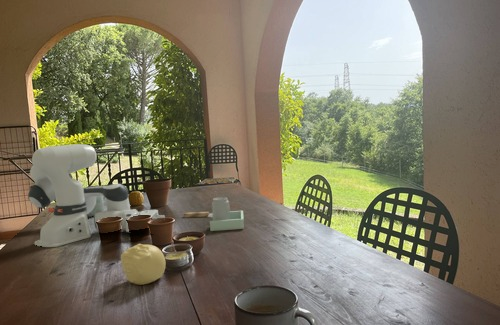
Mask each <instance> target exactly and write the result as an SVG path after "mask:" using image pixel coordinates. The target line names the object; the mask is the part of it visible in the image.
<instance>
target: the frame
mask: <svg viewBox="0 0 500 325" xmlns="http://www.w3.org/2000/svg"><path fill="white" fill-rule="evenodd" d="M211 213H212V219H213V212H211ZM244 222H245V220H244V210H232V211H231V210H230V220H216V221H213V220H209V229H210V232H213V231H229V230H230V231H231V230H243V229H245V223H244Z"/></svg>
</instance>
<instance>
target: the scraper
mask: <svg viewBox="0 0 500 325" xmlns="http://www.w3.org/2000/svg"><path fill="white" fill-rule="evenodd" d="M212 213H213V212H211V213H210V211H198V212H197V211H195V212H194V211H193V212H184V213H183V218H202V217H203V218H206V217H207V218H208V219H211V218H212ZM212 219H213V218H212Z"/></svg>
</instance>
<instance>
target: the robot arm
mask: <svg viewBox="0 0 500 325" xmlns="http://www.w3.org/2000/svg"><path fill="white" fill-rule="evenodd" d="M97 157H98V156H97V152H96V150H95V148H94V147H93V146H92V145H89V144H83V143H82V144H81V143H77V144H75V143H74V144H62V145H51V146H46V147H42V148H39V149H36V150H35V151H34V153H33V154H32V158H31V163H32V166H31V168H30V170H29V175H30V178H31V179H32V180H33V181H34V184H33V185H30V186H29V191H28V194H27V196H28V197H27V199H28V201H29V202H30V203H31V204H32V205H33V206H34V207H37V208H38V209H45V208H48V209H47V212H48V213H53V214H52V217H51V218H49V220H48V221H47V222H45V224H44V225H43V226H42V227H41V228H40V235H39V236H40V238H39V239H37V240H35V241H34V245H35V246H36V245H37V247H40V246H42V248H57V247H61V246H64V245H68V244H71V243H75V242H79V241H81V240H85V239H89V238H91V236H92V234H93V231H92V229H91V226H90V222H89V219H88V218H89V217H87V214H89V213H90V212H91V211H92V210H93V209H94V207H95V205H96V197H97V196H103V199H104V200H105V203H106V209H107V210H106V211H104V210H103V212H99V213H96V214H95V215H94V216H93V223H94V228H95V229H96V230H97V231H99V230H98V226H97V224H96V221H98V220H100V219H102V218H107V217H116V216H118V217H122V218H123V221H122V230H121V231H126V233H130V232H129V229H128V223H127V221H126V219H128V218H130V217H133V216H138V215H151V216H152V219H157V218H166V216H165V215H164V214H162V215H161V214H159V209H147V210H142V211H138V210H137V209H136V208H134V209H131V204H130V199H129V189H128V187H127V186H125V185H124V184H122V183H114V184H113V183H112V184H107V185H105V184H103V185H102V184H101V185H100V184H99V185H89V186H85V187H84V185H83V183H82V182H81V181H79V180H77V179H75V178H73V175H72V174H73V173H76V172H78V171H81V170H84V169H85V170H86V169H87V168H90V167H93V166H94V165H95V163H96V162H97ZM54 201H55V207H48V206H49V205H51V203H52V202H54Z"/></svg>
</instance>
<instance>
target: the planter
mask: <svg viewBox="0 0 500 325" xmlns="http://www.w3.org/2000/svg"><path fill="white" fill-rule="evenodd" d="M104 210H105V207H104V196H97V197H96V205H95V207H94V209H93V210H92V211H91V212H90V213H89V214H87V218H93V217H94V215H95V214H96V213H99V212H104ZM92 216H93V217H92Z"/></svg>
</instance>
